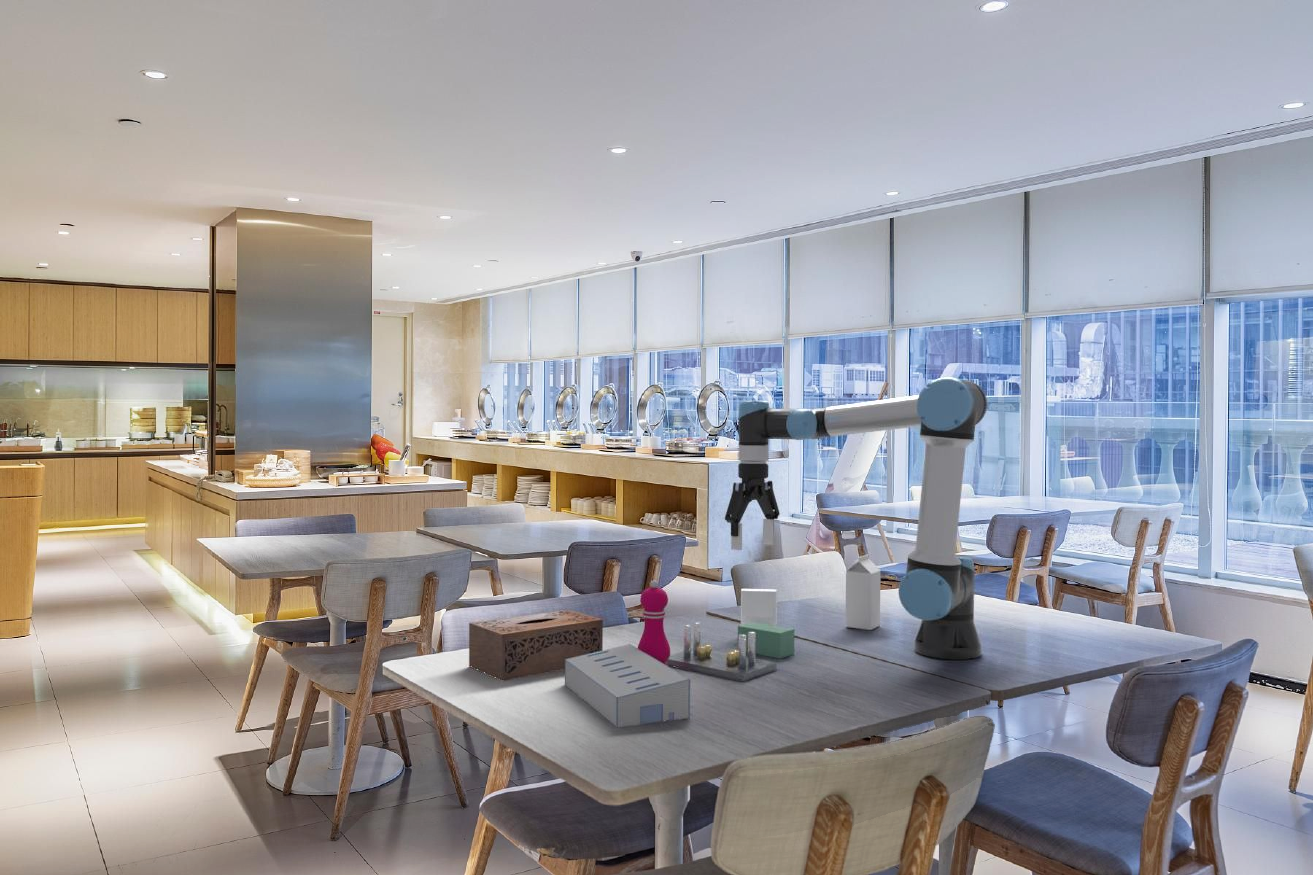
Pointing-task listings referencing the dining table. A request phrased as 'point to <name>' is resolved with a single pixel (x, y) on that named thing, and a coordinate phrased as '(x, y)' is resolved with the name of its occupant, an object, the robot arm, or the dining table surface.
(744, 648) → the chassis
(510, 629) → the tissue box cover
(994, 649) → the dining table surface
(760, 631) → the mint green rectangular block
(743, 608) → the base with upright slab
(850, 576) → the milk carton
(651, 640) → the pepper mill
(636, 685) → the warehouse
